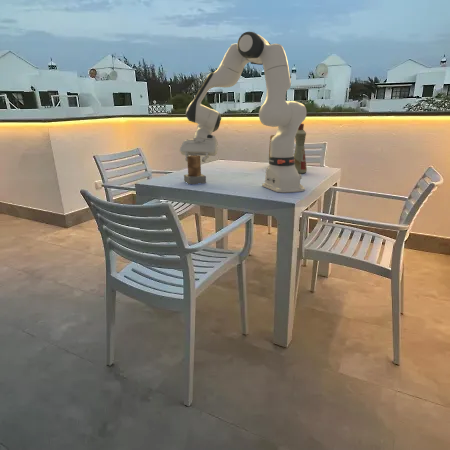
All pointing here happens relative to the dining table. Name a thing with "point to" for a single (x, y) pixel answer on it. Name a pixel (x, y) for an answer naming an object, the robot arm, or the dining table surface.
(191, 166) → the walnut block
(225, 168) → the dining table surface
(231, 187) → the dining table surface
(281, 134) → the robot arm
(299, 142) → the bottle
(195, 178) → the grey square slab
